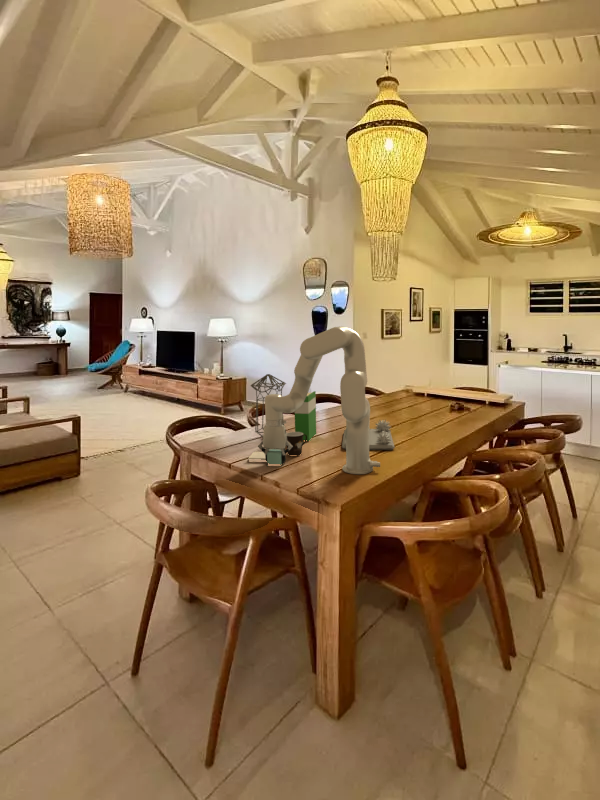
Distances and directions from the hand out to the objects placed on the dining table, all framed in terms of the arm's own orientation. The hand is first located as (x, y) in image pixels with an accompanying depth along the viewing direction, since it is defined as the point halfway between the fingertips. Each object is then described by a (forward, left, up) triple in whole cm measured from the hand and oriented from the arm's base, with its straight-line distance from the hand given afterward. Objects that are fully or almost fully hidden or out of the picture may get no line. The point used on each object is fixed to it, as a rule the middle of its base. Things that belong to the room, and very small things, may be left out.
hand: (275, 462), depth 199 cm
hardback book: (-6, -48, -1) cm, 48 cm away
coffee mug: (-7, -16, -1) cm, 17 cm away
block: (0, 0, -1) cm, 1 cm away
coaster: (+8, -7, -1) cm, 11 cm away
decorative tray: (-39, -43, -2) cm, 58 cm away
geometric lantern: (+13, -45, -1) cm, 47 cm away
